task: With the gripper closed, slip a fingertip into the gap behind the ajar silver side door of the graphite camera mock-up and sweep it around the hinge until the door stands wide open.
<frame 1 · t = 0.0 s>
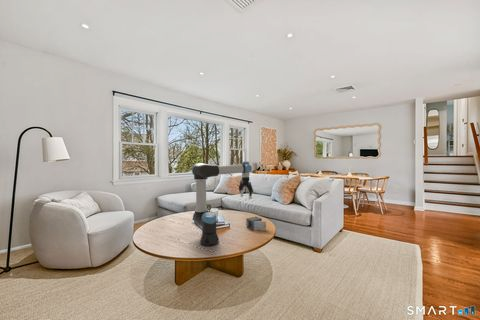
hand: (245, 197, 212), 28 cm above the table, fingers open, 13 cm apart
sign: (203, 221, 225), on the table
side door: (259, 226, 198), point 4 cm above the table, hinge at 35.0°
camera body: (254, 227, 205), on the table
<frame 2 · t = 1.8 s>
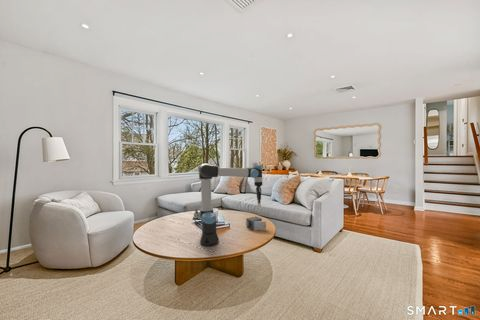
hand: (259, 206, 199), 23 cm above the table, fingers closed
nothing on the table moved.
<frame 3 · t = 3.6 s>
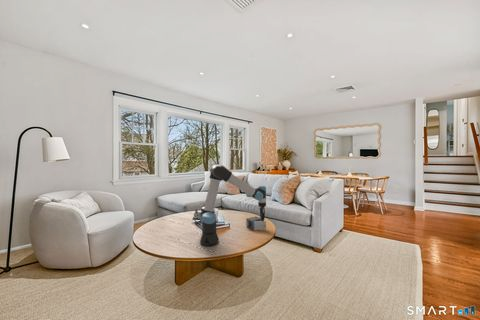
hand: (262, 226, 201), 3 cm above the table, fingers closed
side door: (259, 226, 198), point 4 cm above the table, hinge at 35.0°, touching gripper
everything else where it was.
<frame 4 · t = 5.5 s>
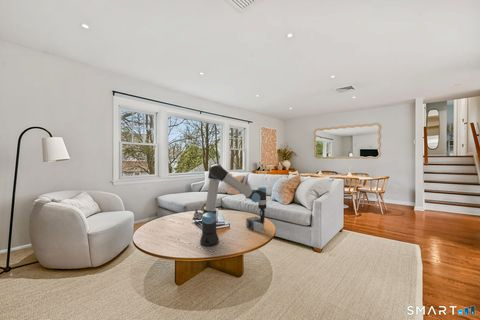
hand: (262, 229, 194), 3 cm above the table, fingers closed
side door: (257, 227, 193), point 4 cm above the table, hinge at 81.2°, touching gripper
everything else where it was.
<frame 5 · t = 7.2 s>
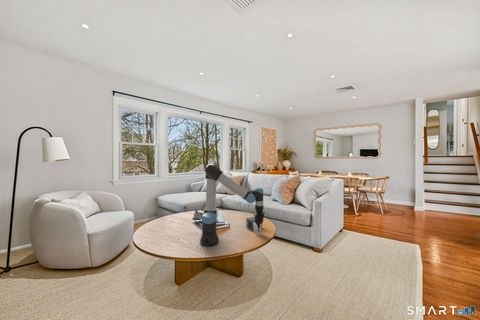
hand: (259, 230, 190), 2 cm above the table, fingers closed
side door: (254, 228, 192), point 4 cm above the table, hinge at 113.9°, touching gripper
everything else where it was.
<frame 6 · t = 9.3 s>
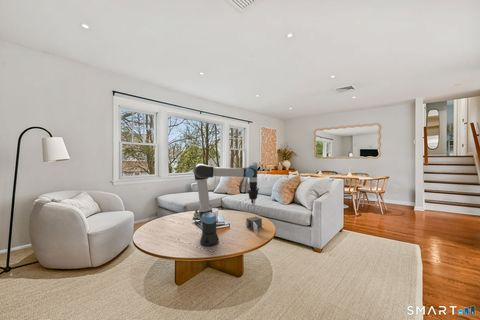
hand: (253, 206, 199), 23 cm above the table, fingers closed
side door: (254, 228, 192), point 4 cm above the table, hinge at 114.1°
everything else where it was.
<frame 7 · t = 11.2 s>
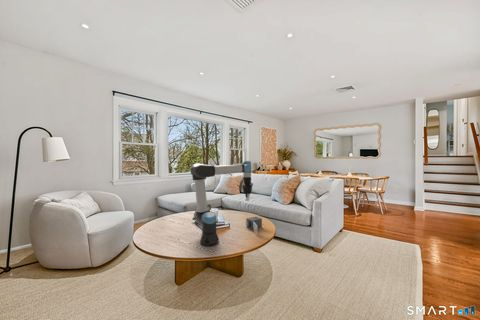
hand: (247, 200, 206), 26 cm above the table, fingers closed
nothing on the table moved.
at the end: side door at +114° (first picture: +35°) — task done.
